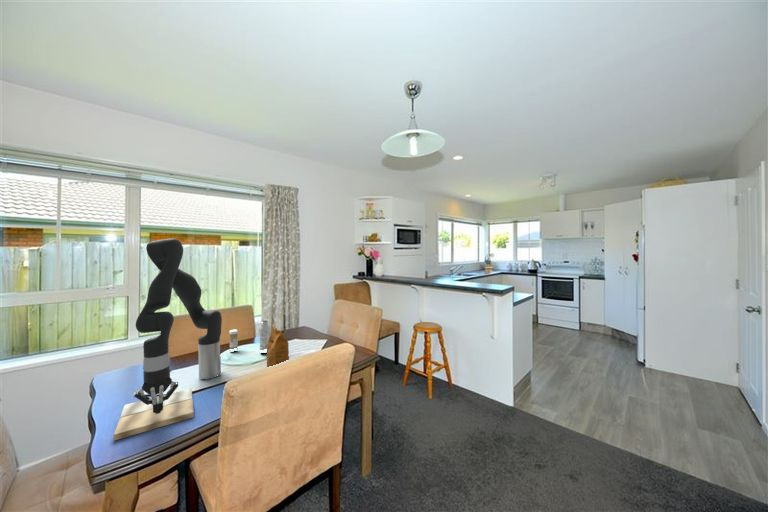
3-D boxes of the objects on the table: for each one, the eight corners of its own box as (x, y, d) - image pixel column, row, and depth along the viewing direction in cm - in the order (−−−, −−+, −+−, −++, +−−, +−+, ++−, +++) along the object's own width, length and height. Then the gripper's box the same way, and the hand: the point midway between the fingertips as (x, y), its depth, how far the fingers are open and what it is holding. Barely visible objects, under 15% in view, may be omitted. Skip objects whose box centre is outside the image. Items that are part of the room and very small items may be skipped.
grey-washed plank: (191, 392, 124) (191, 388, 124) (192, 402, 116) (192, 398, 116) (124, 409, 111) (124, 404, 111) (120, 422, 103) (120, 417, 103)
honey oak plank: (192, 403, 116) (192, 398, 116) (193, 417, 106) (193, 411, 106) (120, 423, 102) (120, 417, 102) (113, 440, 93) (113, 434, 93)
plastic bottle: (273, 352, 173) (272, 320, 172) (265, 356, 166) (264, 323, 166) (264, 351, 175) (264, 319, 174) (256, 354, 169) (256, 322, 168)
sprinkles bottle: (228, 351, 174) (228, 330, 173) (236, 349, 177) (235, 328, 177) (231, 353, 171) (231, 331, 170) (239, 351, 174) (238, 330, 174)
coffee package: (282, 362, 157) (281, 324, 156) (291, 370, 147) (290, 329, 147) (264, 367, 150) (263, 327, 150) (271, 375, 141) (271, 332, 140)
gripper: (179, 358, 109) (180, 401, 109) (133, 367, 101) (135, 414, 101) (179, 365, 103) (180, 411, 103) (131, 375, 95) (132, 424, 95)
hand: (158, 412), depth 102 cm, fingers closed
